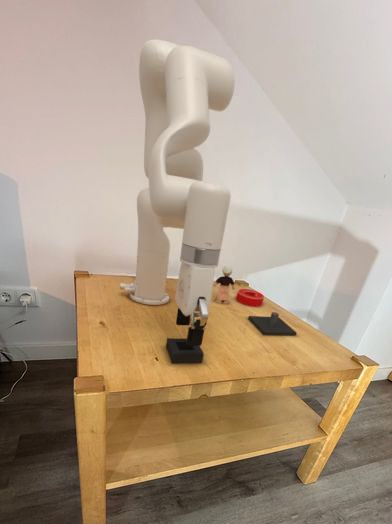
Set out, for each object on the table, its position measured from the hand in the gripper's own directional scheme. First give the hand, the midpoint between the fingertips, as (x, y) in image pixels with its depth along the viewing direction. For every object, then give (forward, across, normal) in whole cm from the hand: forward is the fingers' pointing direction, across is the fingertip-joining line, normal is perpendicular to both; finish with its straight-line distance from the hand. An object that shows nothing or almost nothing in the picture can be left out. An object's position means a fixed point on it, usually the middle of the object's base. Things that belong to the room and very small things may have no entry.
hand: (187, 334), depth 66 cm
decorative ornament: (+5, -38, +34) cm, 51 cm away
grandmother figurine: (+5, -36, +22) cm, 42 cm away
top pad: (+6, -1, 0) cm, 6 cm away
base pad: (+5, -17, +32) cm, 36 cm away
